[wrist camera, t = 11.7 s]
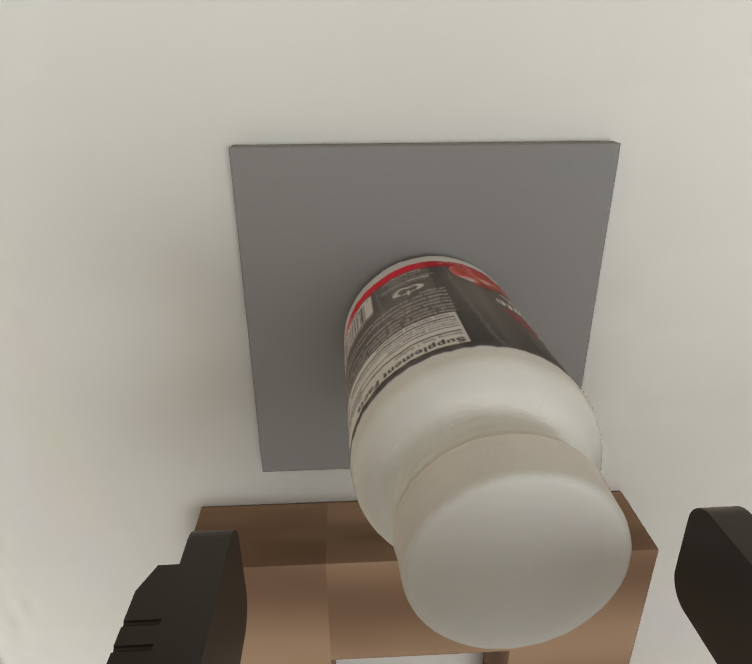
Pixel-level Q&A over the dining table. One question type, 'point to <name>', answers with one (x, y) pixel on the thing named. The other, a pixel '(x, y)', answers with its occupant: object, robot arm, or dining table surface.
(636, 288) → the dining table surface
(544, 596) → the pill bottle
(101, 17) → the dining table surface
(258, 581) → the walnut dock
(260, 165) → the charcoal mat
